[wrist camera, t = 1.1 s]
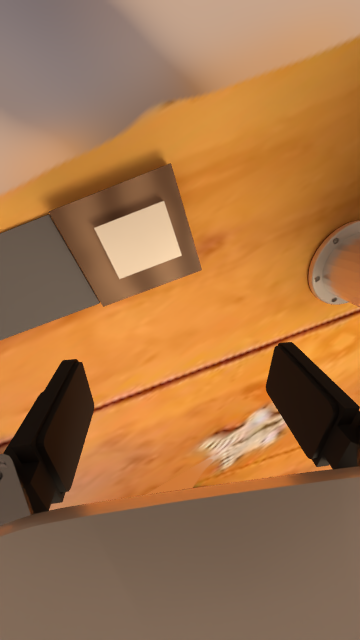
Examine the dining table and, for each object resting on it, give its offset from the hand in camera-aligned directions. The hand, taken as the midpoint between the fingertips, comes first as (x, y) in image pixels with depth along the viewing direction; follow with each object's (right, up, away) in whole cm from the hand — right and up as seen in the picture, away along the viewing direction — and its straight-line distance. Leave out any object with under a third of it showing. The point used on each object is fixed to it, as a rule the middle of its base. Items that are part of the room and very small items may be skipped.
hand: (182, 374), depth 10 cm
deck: (-6, +13, +17) cm, 22 cm away
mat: (-21, +7, +18) cm, 29 cm away
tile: (-5, +12, +15) cm, 20 cm away
